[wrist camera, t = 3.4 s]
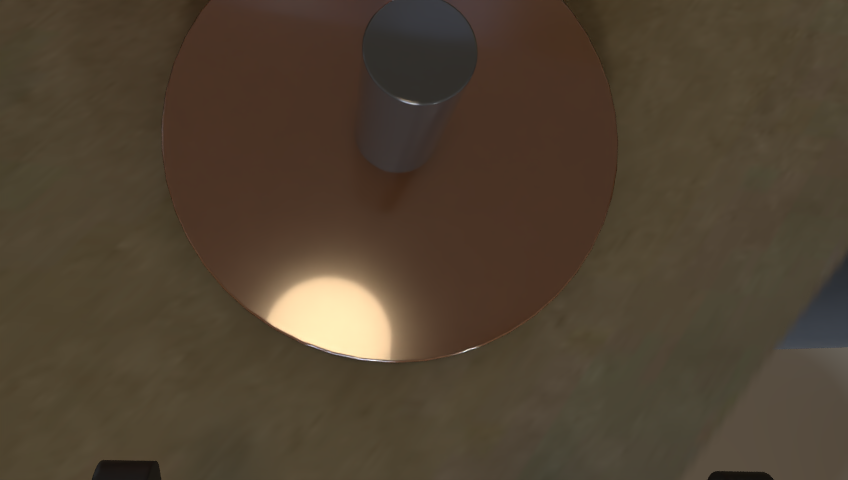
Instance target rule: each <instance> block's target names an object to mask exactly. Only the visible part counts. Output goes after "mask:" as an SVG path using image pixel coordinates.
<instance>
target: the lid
mask: <svg viewBox="0 0 848 480" xmlns="http://www.w3.org/2000/svg"><path fill="white" fill-rule="evenodd" d="M617 153H618V136H617V125H616V114H615V109H614V104H613V100H612V95H611V91H610V87H609V83H608V81H607V78H606V75H605V72H604V69H603V67H602V64H601V61H600V58H599V57H598V55H597V53H596V51H595V49H594V47H593V45H592V43H591V41H590V39H589V37H588V35H587V33H586V32H585V30H584V29H583V27H582V26H581V24H580V23H579V21H578V20H577V18H576V17H575V15H574V14H573V13H572V11H571V10H570V9H569V7H568V6H567V5H566V4H565V3H564V2H563V1H562V0H209V2H208V3H207V4H206V5H205V7H204V8H203V9H202V10H201V12H200V13H199V15H198V16H197V18H196V20H195V21H194V23H193V25H192V26H191V28H190V30H189V31H188V33H187V34H186V36H185V38H184V40H183V43H182V45H181V47H180V50H179V52H178V54H177V57H176V59H175V61H174V63H173V67H172V71H171V74H170V78H169V81H168V85H167V89H166V92H165V100H164V107H163V115H162V156H163V163H164V170H165V176H166V182H167V186H168V189H169V193H170V196H171V199H172V203H173V206H174V210H175V212H176V215H177V217H178V219H179V221H180V223H181V226H182V228H183V230H184V232H185V235H186V237H187V239H188V241H189V242H190V244H191V245H192V247H193V249H194V250H195V252H196V253H197V255H198V257H199V258H200V260H201V261H202V263H203V265H204V266H205V267H206V268H207V270H208V271H209V272H210V273H211V274H212V276H213V277H214V278H215V279H216V280H217V282H218V283H219V284H220V285H221V286H222V288H223V289H224V290H225V291H226V292H227V293H228V294H230V295H231V296H232V297H233V298H234V299H235V300H236V301H237V302H238V303H239V304H240V305H242V306H243V307H244V308H245V309H246V310H247V311H248V312H250V313H251V314H253V315H254V316H256V317H257V318H258V319H260V320H261V321H263V322H264V323H266V324H267V325H268V326H270V327H271V328H273V329H274V330H276V331H278V332H280V333H282V334H284V335H286V336H288V337H290V338H292V339H294V340H296V341H298V342H300V343H302V344H304V345H307V346H310V347H313V348H316V349H318V350H321V351H324V352H327V353H330V354H333V355H338V356H343V357H347V358H352V359H357V360H361V361H374V362H387V363H400V362H418V361H428V360H433V359H438V358H443V357H449V356H454V355H457V354H460V353H463V352H466V351H469V350H472V349H475V348H478V347H481V346H484V345H486V344H488V343H490V342H492V341H494V340H496V339H498V338H500V337H502V336H504V335H506V334H508V333H510V332H512V331H513V330H515V329H516V328H518V327H519V326H521V325H522V324H524V323H525V322H527V321H528V320H530V319H531V318H533V317H534V316H535V315H536V314H538V313H539V312H540V311H541V310H542V309H543V308H544V307H545V306H547V305H548V304H549V303H550V302H551V301H552V300H553V299H554V298H556V297H557V296H558V294H559V293H560V292H561V291H562V290H563V289H564V287H565V286H566V285H567V284H568V283H569V282H570V280H571V279H572V278H573V277H574V276H575V275H576V273H577V272H578V270H579V269H580V267H581V265H582V264H583V262H584V261H585V259H586V258H587V256H588V255H589V253H590V252H591V250H592V248H593V246H594V243H595V241H596V239H597V237H598V235H599V233H600V231H601V229H602V226H603V224H604V221H605V218H606V215H607V212H608V208H609V205H610V202H611V199H612V195H613V189H614V183H615V177H616V171H617Z"/></svg>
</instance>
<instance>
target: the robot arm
mask: <svg viewBox="0 0 848 480" xmlns="http://www.w3.org/2000/svg"><path fill="white" fill-rule="evenodd" d="M92 480H161V476H160V469H159V464H158V462H157V461H124V460H102V461H100V462H99V464H98V465H97V467H96V469H95V472H94V475H93V478H92ZM708 480H773V478H772V477H771V476H770V475H769V474H767V473H765V472H732V471H729V472H728V471H716V472H713V473H712V474H711V475H710V476H709V478H708Z"/></svg>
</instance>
